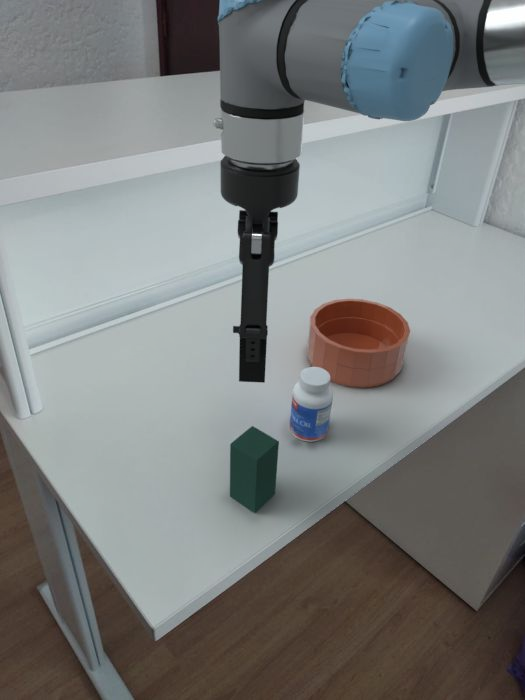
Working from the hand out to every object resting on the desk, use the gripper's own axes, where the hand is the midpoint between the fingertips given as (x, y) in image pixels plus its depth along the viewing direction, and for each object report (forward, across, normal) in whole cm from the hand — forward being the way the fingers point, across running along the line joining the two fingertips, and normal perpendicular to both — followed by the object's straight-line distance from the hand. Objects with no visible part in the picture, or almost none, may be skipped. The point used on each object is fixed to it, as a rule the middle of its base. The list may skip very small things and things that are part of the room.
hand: (254, 343), depth 67 cm
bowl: (+18, -23, +16) cm, 33 cm away
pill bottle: (+18, -5, +8) cm, 21 cm away
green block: (+18, +7, 0) cm, 19 cm away
